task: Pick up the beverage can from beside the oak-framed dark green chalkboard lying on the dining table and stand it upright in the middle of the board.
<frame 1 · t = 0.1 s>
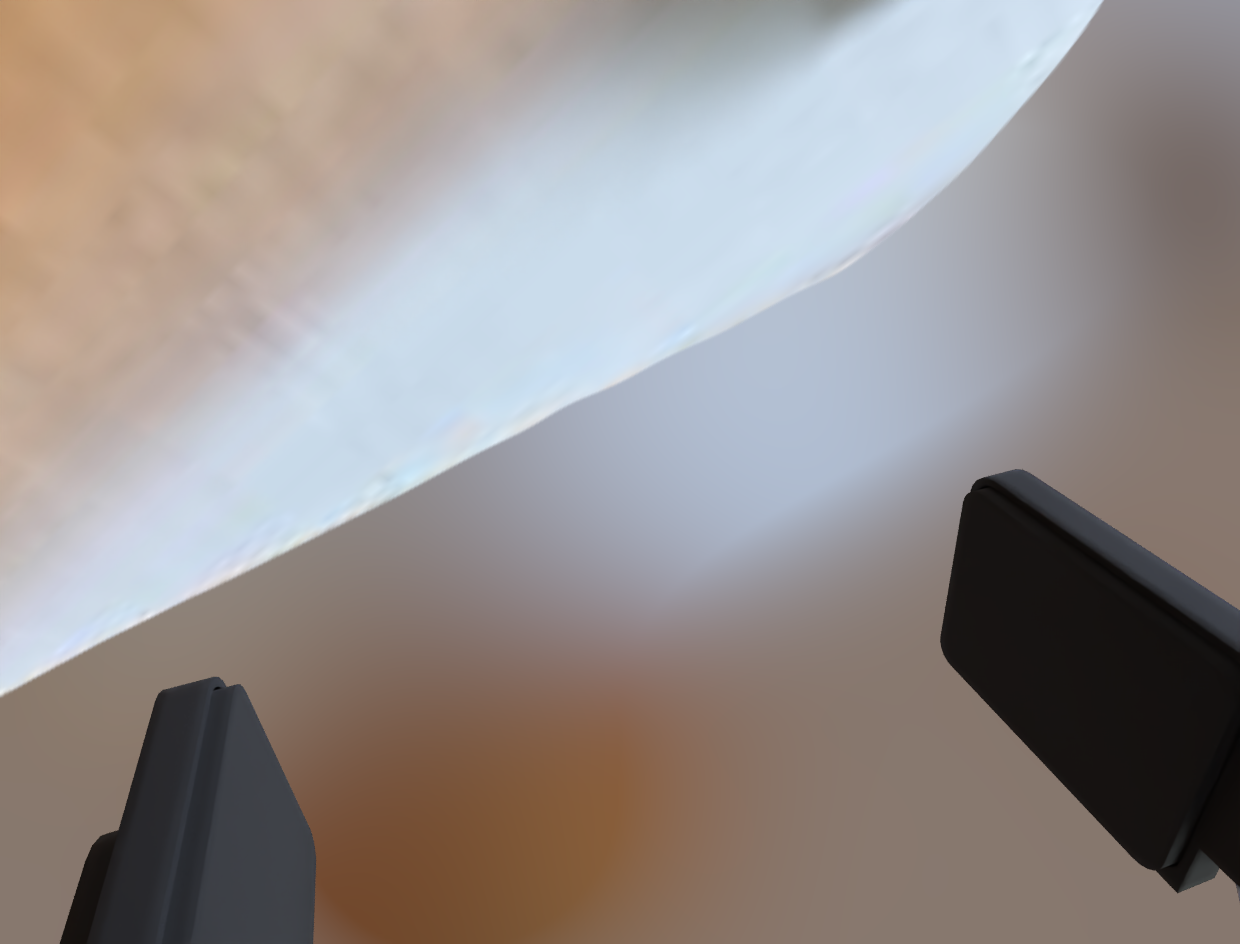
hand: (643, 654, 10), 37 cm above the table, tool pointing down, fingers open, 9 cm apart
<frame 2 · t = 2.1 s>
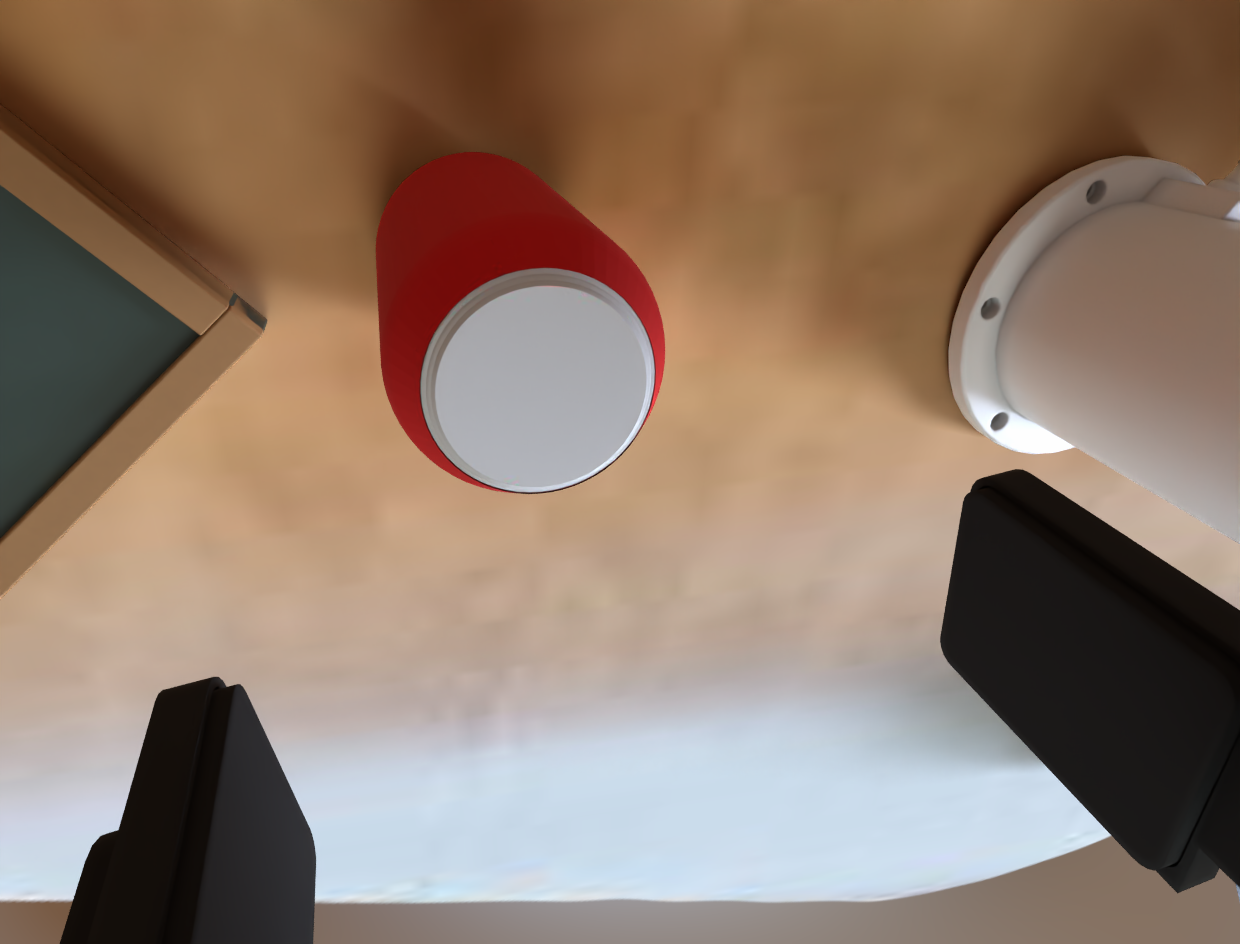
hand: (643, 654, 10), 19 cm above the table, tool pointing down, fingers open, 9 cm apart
beverage can: (473, 247, 26), on the table
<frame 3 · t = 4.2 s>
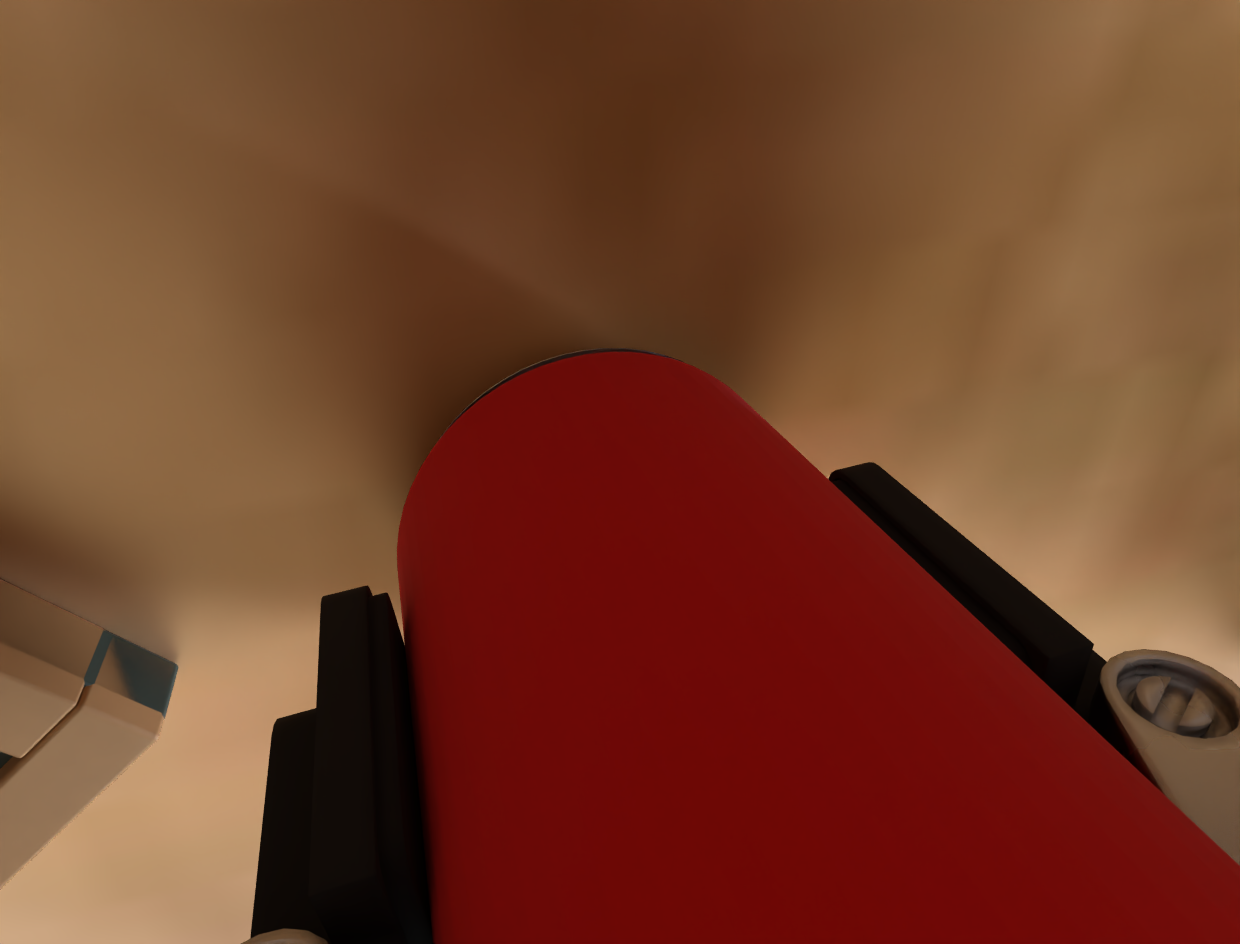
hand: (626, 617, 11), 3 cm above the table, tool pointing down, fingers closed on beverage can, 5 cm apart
beverage can: (578, 497, 13), on the table, touching gripper
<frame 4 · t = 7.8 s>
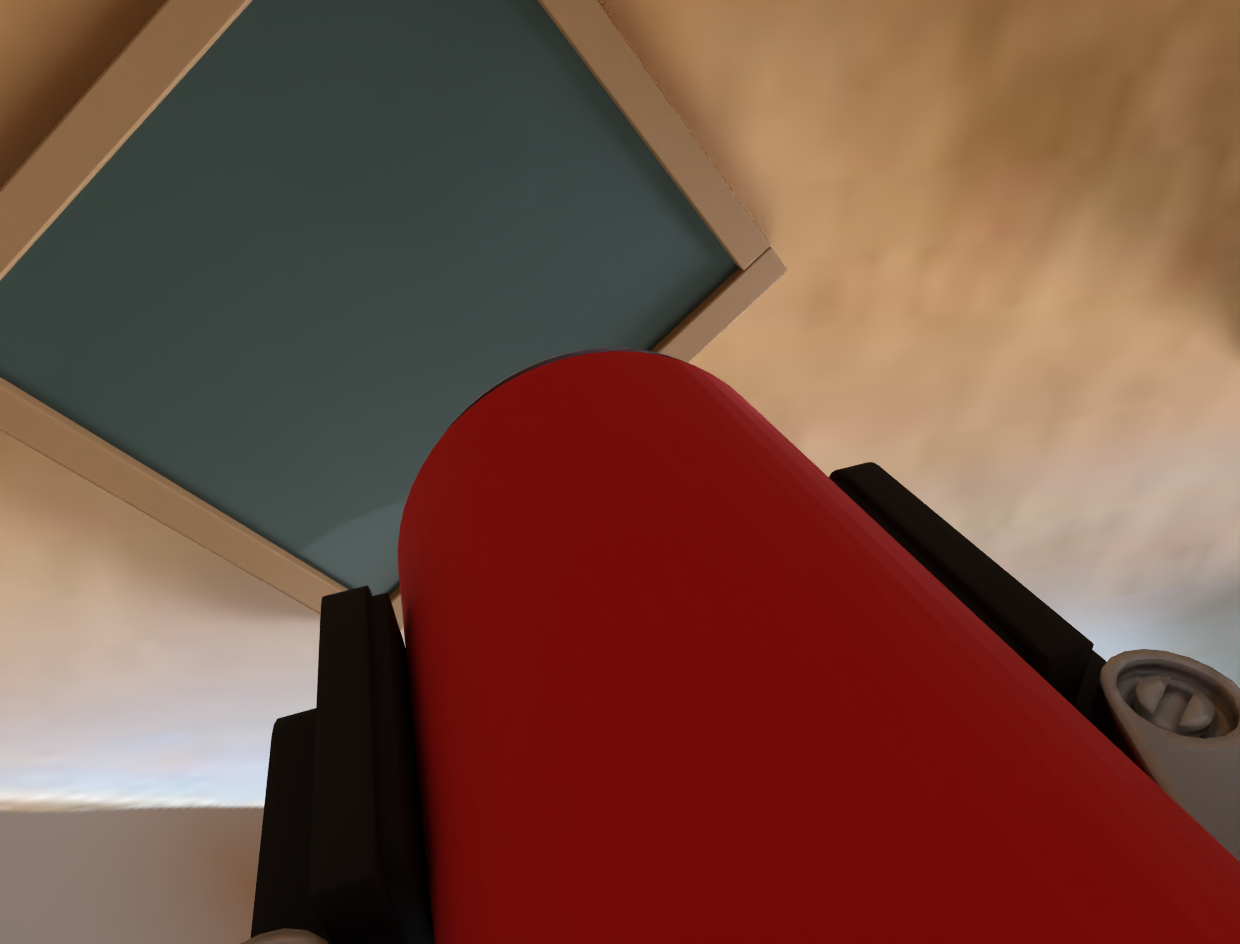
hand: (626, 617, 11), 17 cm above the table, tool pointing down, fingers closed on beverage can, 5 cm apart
chalkboard: (387, 289, 25), on the table
beverage can: (579, 497, 13), point 14 cm above the table, touching gripper
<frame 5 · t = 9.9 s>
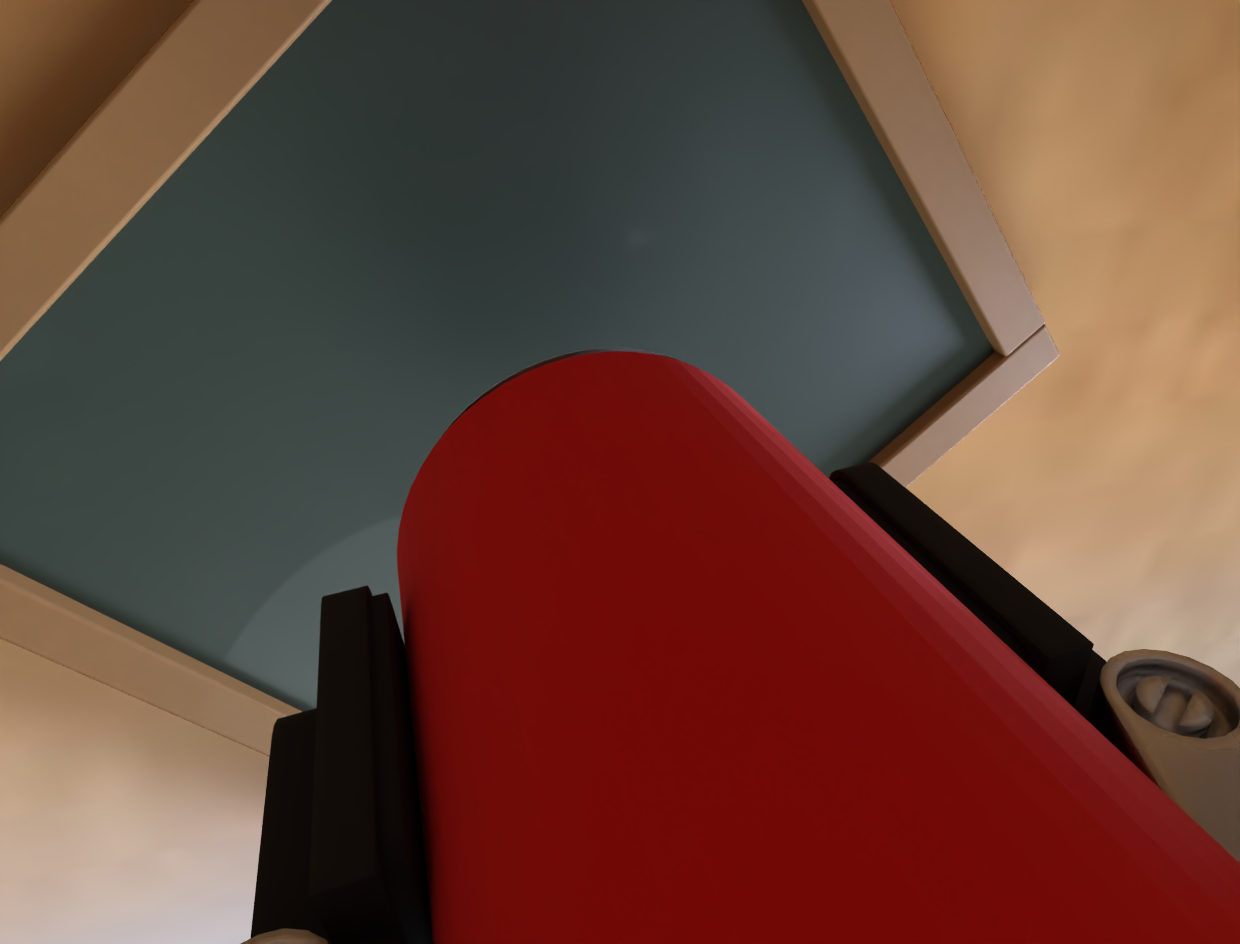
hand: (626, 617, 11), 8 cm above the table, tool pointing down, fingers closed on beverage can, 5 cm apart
chalkboard: (520, 391, 17), on the table
beverage can: (579, 497, 13), point 5 cm above the table, touching gripper
when the fingers open (4 cm above the table, at t = 11.4 s): beverage can stays where it is, resting on chalkboard.
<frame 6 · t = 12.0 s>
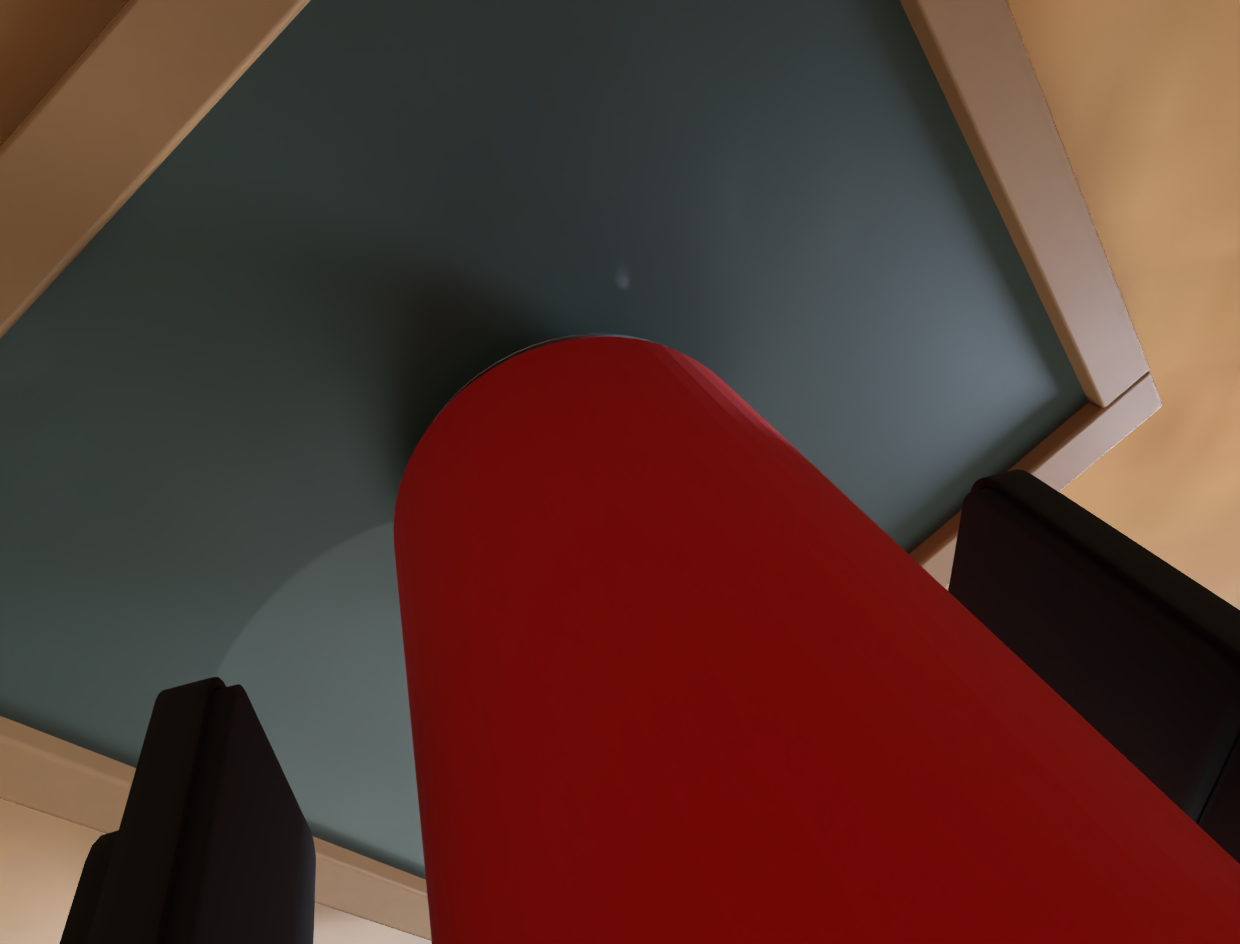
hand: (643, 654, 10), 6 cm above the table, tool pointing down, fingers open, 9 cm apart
chalkboard: (543, 455, 15), on the table
beverage can: (569, 479, 14), point 1 cm above the table, touching chalkboard
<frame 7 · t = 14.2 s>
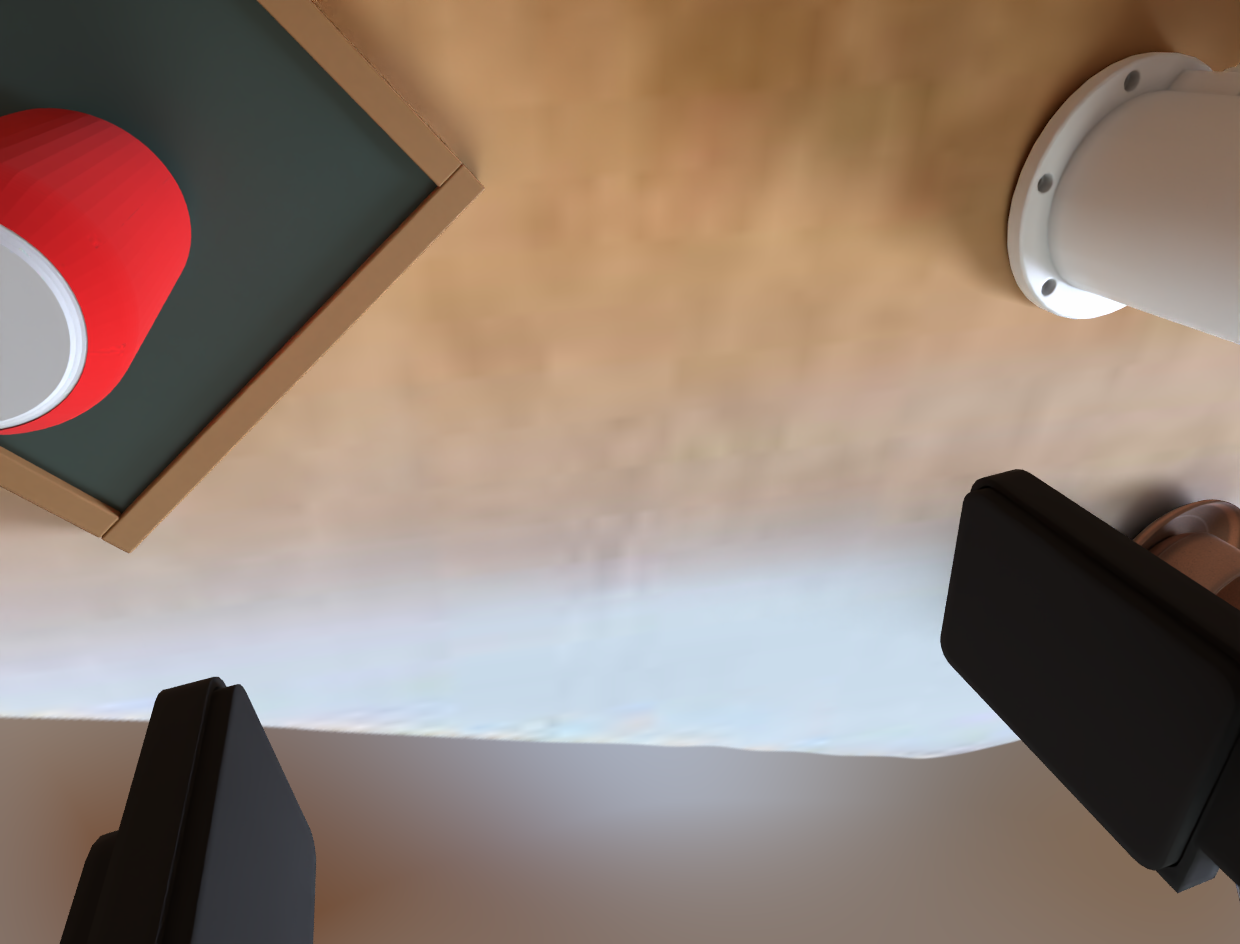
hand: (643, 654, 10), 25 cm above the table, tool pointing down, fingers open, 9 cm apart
cup and saucer: (1150, 558, 57), on the table
chalkboard: (90, 203, 26), on the table
beverage can: (91, 208, 26), point 1 cm above the table, touching chalkboard
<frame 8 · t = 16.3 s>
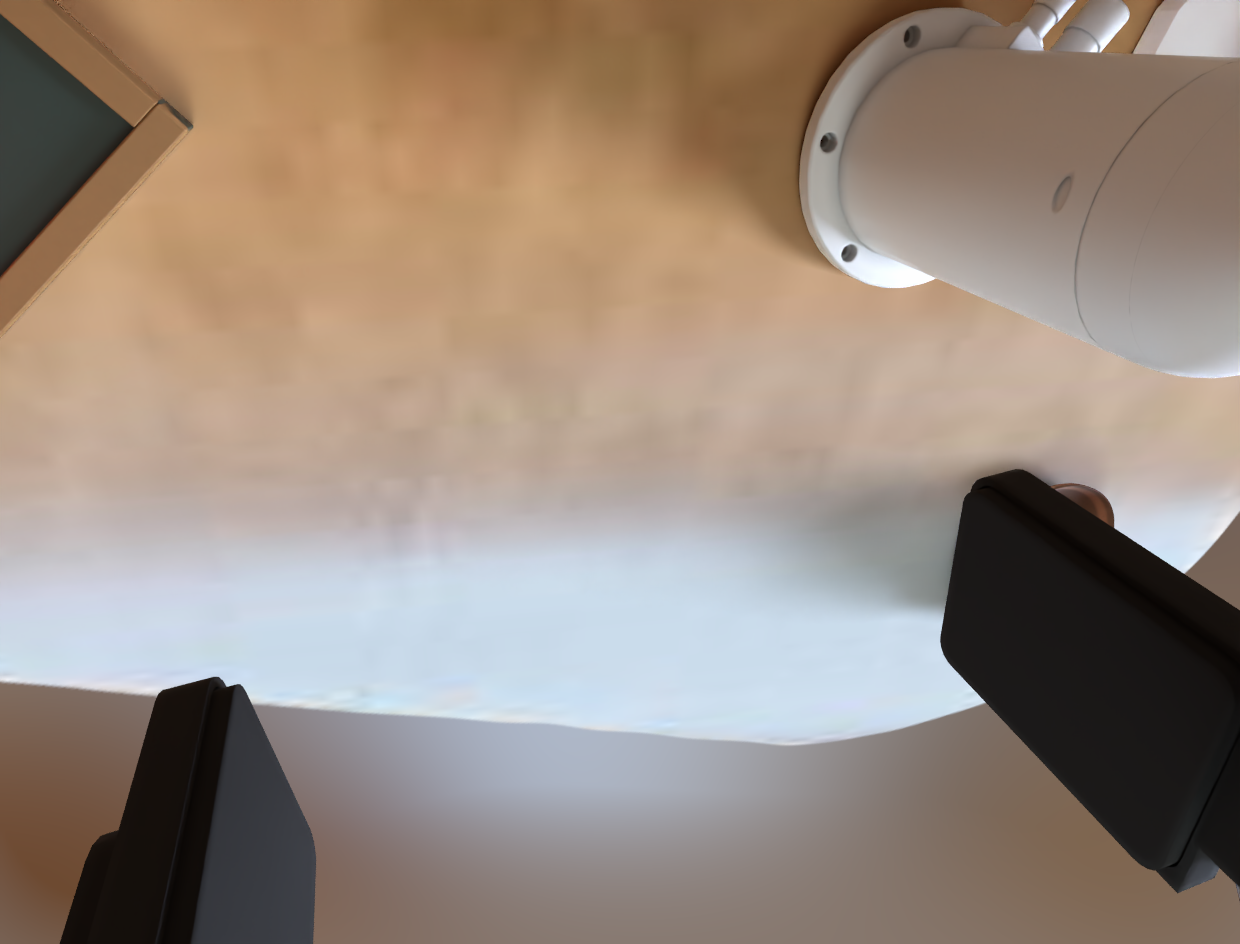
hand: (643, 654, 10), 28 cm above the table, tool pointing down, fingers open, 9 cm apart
cup and saucer: (1017, 544, 56), on the table
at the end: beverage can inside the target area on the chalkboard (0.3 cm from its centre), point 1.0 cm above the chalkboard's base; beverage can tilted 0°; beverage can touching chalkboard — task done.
